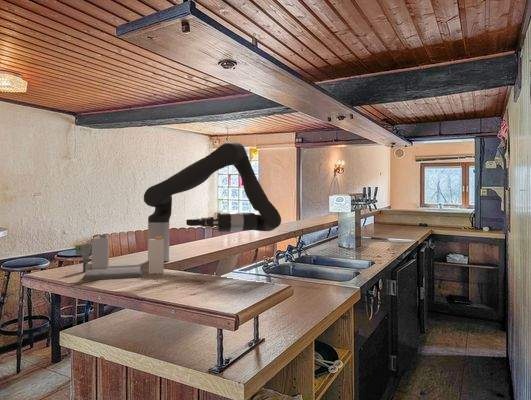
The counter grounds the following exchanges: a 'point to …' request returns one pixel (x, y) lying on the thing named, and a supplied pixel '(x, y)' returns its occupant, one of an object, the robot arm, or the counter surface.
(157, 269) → the cream module
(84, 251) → the mechanical component
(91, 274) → the grey l-shaped block
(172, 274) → the counter surface
